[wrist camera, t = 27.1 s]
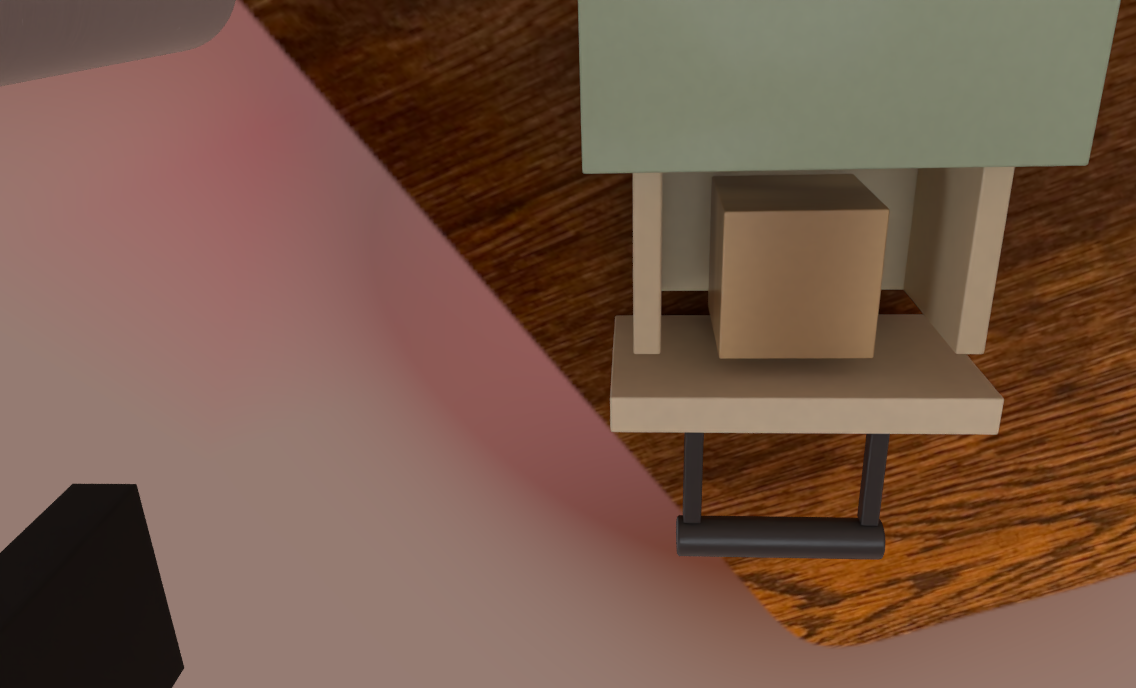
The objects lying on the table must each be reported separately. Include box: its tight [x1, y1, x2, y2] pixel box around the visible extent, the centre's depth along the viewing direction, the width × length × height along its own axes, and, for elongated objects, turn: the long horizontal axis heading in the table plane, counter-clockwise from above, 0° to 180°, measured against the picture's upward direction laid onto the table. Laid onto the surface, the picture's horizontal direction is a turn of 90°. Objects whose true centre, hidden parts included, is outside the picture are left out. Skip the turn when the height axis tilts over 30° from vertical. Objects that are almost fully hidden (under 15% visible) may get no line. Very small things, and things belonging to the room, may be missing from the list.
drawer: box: [610, 167, 1015, 559], centre depth 28 cm, size 20×11×7 cm, turn 2°
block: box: [708, 174, 890, 359], centre depth 28 cm, size 5×5×5 cm
